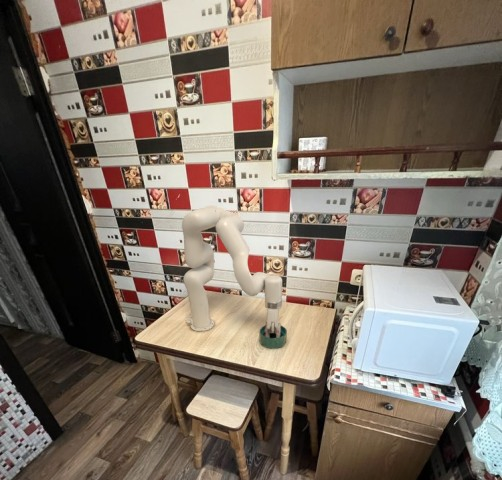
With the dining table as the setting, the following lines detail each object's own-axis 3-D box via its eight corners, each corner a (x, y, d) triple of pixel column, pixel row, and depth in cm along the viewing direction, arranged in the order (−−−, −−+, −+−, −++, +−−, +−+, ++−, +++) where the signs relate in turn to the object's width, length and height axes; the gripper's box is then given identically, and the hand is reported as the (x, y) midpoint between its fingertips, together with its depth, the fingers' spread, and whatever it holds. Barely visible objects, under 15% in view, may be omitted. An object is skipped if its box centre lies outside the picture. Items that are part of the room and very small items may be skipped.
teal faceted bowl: (262, 350, 129) (262, 340, 125) (257, 335, 139) (257, 325, 136) (289, 347, 130) (290, 336, 127) (282, 332, 141) (282, 322, 138)
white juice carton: (266, 337, 137) (266, 319, 131) (280, 338, 135) (280, 321, 130) (265, 341, 134) (265, 323, 128) (279, 342, 132) (279, 325, 127)
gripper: (265, 295, 131) (265, 327, 141) (264, 312, 117) (264, 347, 127) (281, 295, 130) (280, 328, 140) (281, 312, 116) (280, 347, 126)
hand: (272, 336), depth 133 cm, fingers closed on white juice carton, 4 cm apart
